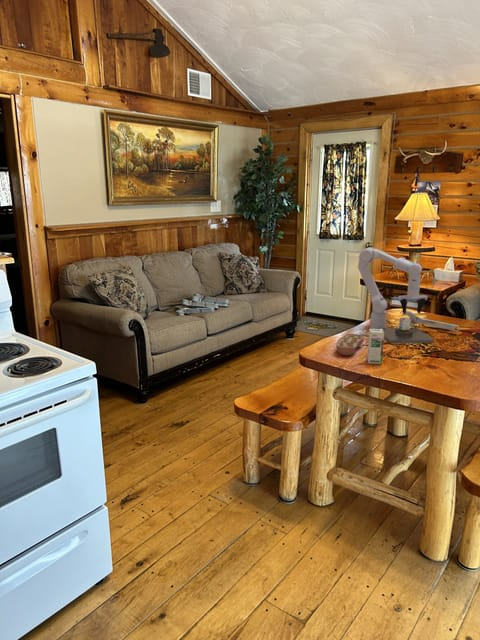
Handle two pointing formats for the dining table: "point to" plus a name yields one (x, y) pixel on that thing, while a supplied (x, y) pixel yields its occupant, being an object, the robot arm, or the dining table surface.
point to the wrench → (429, 322)
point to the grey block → (404, 324)
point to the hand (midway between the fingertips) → (411, 313)
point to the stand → (406, 335)
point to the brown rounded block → (349, 343)
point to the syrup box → (375, 346)
